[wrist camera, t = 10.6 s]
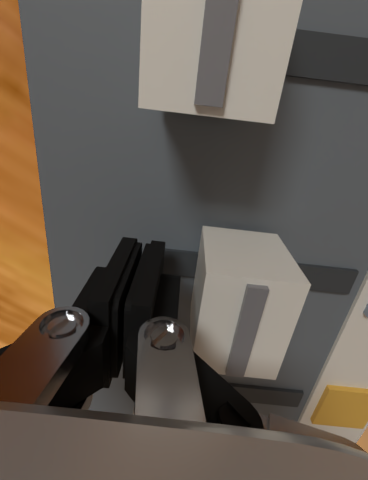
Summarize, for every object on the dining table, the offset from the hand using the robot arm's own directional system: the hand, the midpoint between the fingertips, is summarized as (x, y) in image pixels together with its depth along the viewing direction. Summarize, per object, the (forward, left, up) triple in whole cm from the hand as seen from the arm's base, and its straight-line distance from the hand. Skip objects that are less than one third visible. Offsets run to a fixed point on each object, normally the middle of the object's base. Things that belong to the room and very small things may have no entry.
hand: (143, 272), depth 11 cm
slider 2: (-4, 0, -1) cm, 4 cm away
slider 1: (-2, -8, -1) cm, 8 cm away
